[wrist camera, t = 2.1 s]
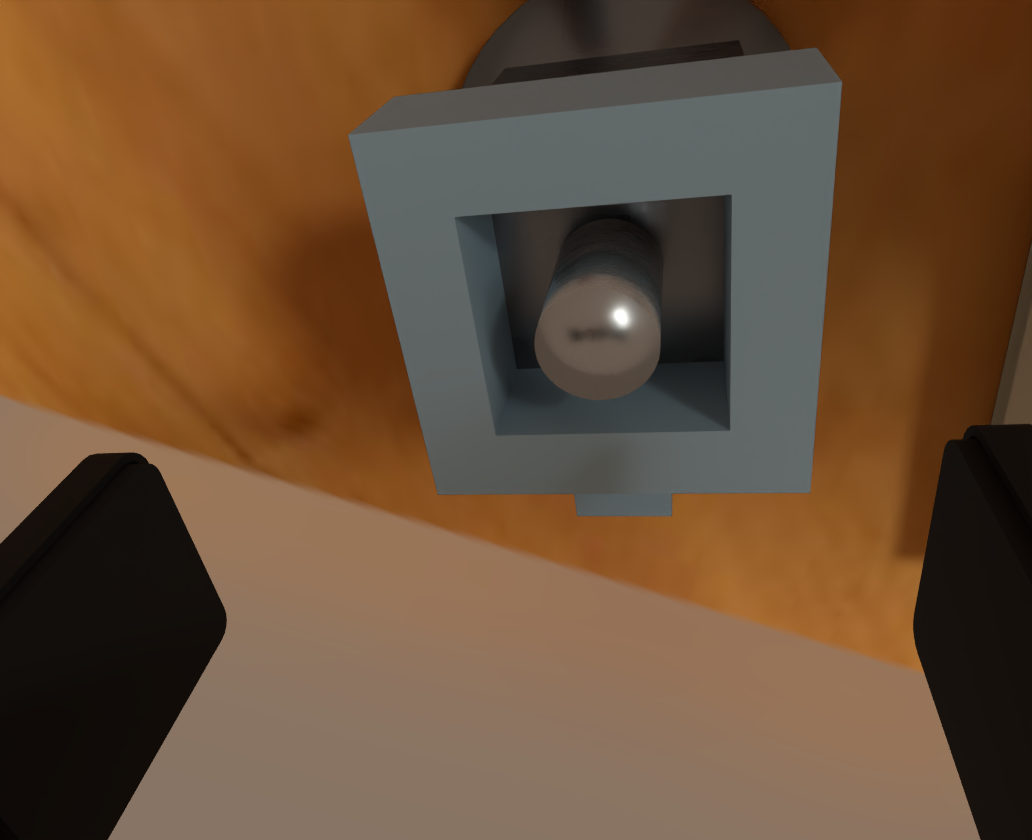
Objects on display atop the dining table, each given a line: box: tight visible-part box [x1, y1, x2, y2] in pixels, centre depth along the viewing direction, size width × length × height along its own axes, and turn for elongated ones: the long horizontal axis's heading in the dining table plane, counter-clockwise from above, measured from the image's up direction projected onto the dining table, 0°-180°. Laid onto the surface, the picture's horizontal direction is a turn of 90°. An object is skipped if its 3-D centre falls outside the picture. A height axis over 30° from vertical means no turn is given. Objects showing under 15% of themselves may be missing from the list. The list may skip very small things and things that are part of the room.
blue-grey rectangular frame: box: [348, 47, 842, 516], centre depth 15 cm, size 7×9×2 cm
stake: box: [462, 0, 791, 400], centre depth 17 cm, size 9×9×10 cm
